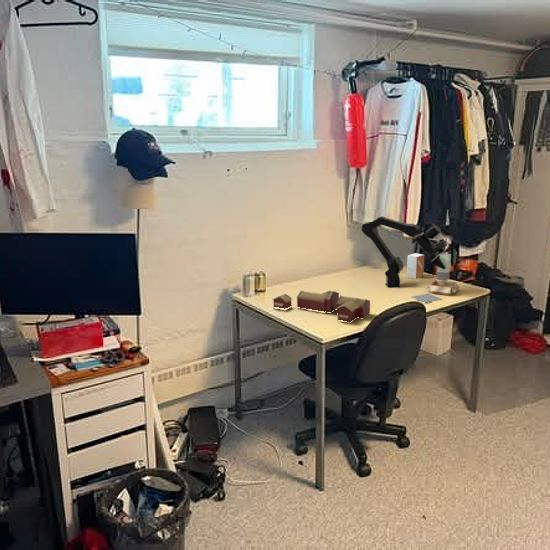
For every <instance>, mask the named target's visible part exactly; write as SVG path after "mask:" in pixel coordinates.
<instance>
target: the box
mask: <svg viewBox="0 0 550 550" xmlns="http://www.w3.org/2000/svg"><path fill="white" fill-rule="evenodd" d="M439 255H440V260H441V262H442V263H443V264H444V266H445V269H442V268H440V267H438V266H437V271H436V280H440V281H448V280H449V279H450V274H451V273H450V271H451V260H452V259H451V258H452V254H451V253H448V252H445V253H440V254H439ZM439 255H438V256H439Z"/></svg>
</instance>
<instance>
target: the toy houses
mask: <svg viewBox="0 0 550 550" xmlns="http://www.w3.org/2000/svg"><path fill="white" fill-rule="evenodd" d="M292 300H293V298H292V297H291V296H290V295H288V294H286V293H284V294H282V295H279V296H276V297H275V298H273V299H272V302H273V308H274V307H279V308H284V309H285V308H288V307H290V306H293V305H292ZM296 307H300V308H306V309H312V310H318V311H324V312H325V311H326V312H332V311H333V310H335V309H337V310H335V311H336V314H337V313H338V315H337V321H338V320H343V321H347V322H351V321H352V320H354V319H355V318H357V317H359V318H364V317H365V316H367V315H368V314H369V313H370V314H371V301H370V300H368V299H365V298H357V297H353V296H352V297H351V296H350V297H349V296H346V295H345V296H344V295H340V293H339V292H338V291H333V290H328V291H325V292H323V293H318V292H311V291H306V290H305V291H304V290H300V292H299V293H298V294H297V296H296ZM332 313H333V312H332ZM370 314H369V315H370ZM369 315H368V316H369ZM368 316H367V317H368ZM365 318H366V317H365ZM365 318H364V319H365ZM357 319H358V318H357ZM354 321H355V320H354Z"/></svg>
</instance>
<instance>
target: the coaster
mask: <svg viewBox="0 0 550 550" xmlns="http://www.w3.org/2000/svg"><path fill="white" fill-rule="evenodd" d="M411 298H413V299H415V300H416V301H418V302H420V301H421V302H420V303H422V302H425V303H426V304H429V303H428V302H431V303H433V302H437V301H442V300H443V298H441V297H439V296H436V295H433V294H432V293H425V294H424V293H423V294H419V295H413V296H411ZM425 303H424V304H425Z"/></svg>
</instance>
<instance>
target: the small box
mask: <svg viewBox="0 0 550 550" xmlns="http://www.w3.org/2000/svg"><path fill="white" fill-rule="evenodd" d="M406 259H407V260H406V261H407V263H406V278H408V277H409V278H410V279H413V278H414V280H415V279H419V277H420V278H423V277H424V269H425V254H421V253H417V252H415V253H411V254H408V255H407V258H406ZM422 276H423V277H422Z"/></svg>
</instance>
